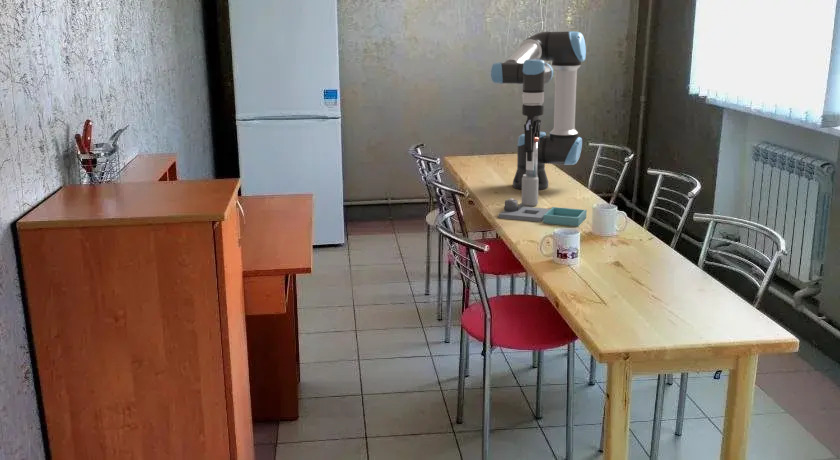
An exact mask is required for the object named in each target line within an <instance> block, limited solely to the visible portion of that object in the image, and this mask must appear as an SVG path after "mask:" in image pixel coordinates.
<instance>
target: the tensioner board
mask: <svg viewBox="0 0 840 460" xmlns="http://www.w3.org/2000/svg"><path fill="white" fill-rule="evenodd" d="M518 202H519V201H518V200H517V199H514V198H508V199H506V200H504V206H503V207H504V208H503V209H504V210H502V211H500V212H499V213H498V219H507V220H517V221H528V222H538V223H541V222H543V218H544V214H545V213H546V212H548V211H549V210H550V209H551V208H543V207H535V206H532V207H528V206H524V205H523V203H520V204H519V203H518Z"/></svg>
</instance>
